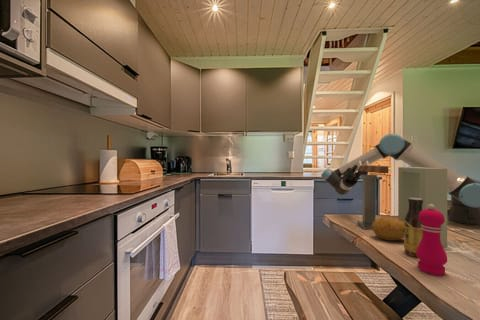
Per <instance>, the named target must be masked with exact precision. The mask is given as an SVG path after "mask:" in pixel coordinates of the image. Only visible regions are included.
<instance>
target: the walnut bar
mask: <svg viewBox="0 0 480 320" xmlns="http://www.w3.org/2000/svg"><path fill="white" fill-rule="evenodd" d="M358 171H364V172H368V173H375V174H389V166H386V165H370V164H369V165H362V166H361V167H360V168H359V169H358V170H357V171H356V172H358Z"/></svg>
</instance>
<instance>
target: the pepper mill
mask: <svg viewBox="0 0 480 320" xmlns="http://www.w3.org/2000/svg"><path fill="white" fill-rule="evenodd" d="M434 209H435V206H434V205H433V204H429V205H428V209H424V210H422V211H421V212H420V213H419V220H420V221H421V222H422V224H421V229H422V231H423V235H422V240H421V242H420V243H419V245H418V247H417V250H416V256H417V257H416V258H418V259H419V260H418V262H417V268H418V269H419V270H420V271H421V272H423V273H425V274H428V275H429V274H430V275H432V276H445V274H446V267H445V265H446V264H447V263H448V256H447V252H446V250H445V248H444V246H442V244H441V240H440V233H441V232H442V227H441V225H442V224H443V223H444V222H445V218H444V215H443V214H442V213H441V212H439V211H437V210H434Z"/></svg>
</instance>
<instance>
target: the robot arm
mask: <svg viewBox="0 0 480 320" xmlns="http://www.w3.org/2000/svg"><path fill="white" fill-rule="evenodd" d="M387 157H390V158H392V159H394V160H395V161H402V162H404V163H405V164H407V165H408V166H409V167H421V168H444V169H447V195H450V206H449V209H448V210H447V221H450V222H453V223H458V224H463V225H471V226H472V225H473V226H480V179H477V178H476V179H475V178H470V177H469V176H468V175H459V174H458V173H456V172H455V171H452V170H451V169H449V168H448V167H446V166H444V165H442V164H441V163H439V162H437V161H436V160H434V159H433V158H431V157H429V156H428V155H426V154H424V153H423V152H421V151H419V150H417V149H416V148H414V147H413V143H411V142H409V141H408V140H406V138H405V139H404V138H403V137H402V136H401V135H400V134H398V133H388V134H386V135H383V137H381V139H380V141H379V143H377V144H376V145H374V147H373V149H370V150H369V151H367V152H365V153H363V154H362V155H360V156H358V157H356V158H355V159H353V160H351V161H349V162H347V163H345V164H344V165H342V166H339V168H337V169H335V170H332V169H330V168H326V169H324V171H323V172H322V173H321V174H320V176H321V177H322V179H323V180H324V181H326V182H327V183H328V184H329V185H330V186H331V187H333V189H334V192H335V194H336V195H338V196H340V197H343V196H347V194H349V192H350V191H351V189H352V188H354V187H355V186H356V184H357V183H358V181H360V179H361V175H369V174H368V173H369V172H364V171H357V170H358V169H359V168H360V167H361V166H362V165H369V166H370V165H372V164H373V163H375V162H376V161H378V160H381V159H386V158H387Z"/></svg>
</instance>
